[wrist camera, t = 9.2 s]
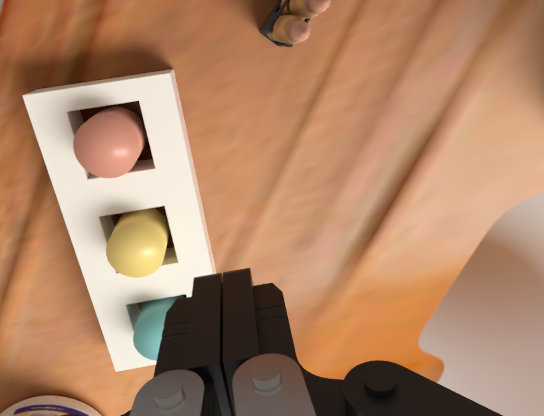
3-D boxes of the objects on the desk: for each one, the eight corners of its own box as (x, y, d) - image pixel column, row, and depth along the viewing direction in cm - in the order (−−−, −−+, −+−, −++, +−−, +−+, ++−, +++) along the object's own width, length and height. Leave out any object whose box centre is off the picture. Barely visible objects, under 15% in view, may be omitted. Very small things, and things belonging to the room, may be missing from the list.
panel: (173, 68, 35) (169, 73, 32) (228, 329, 44) (228, 350, 41) (37, 89, 34) (22, 95, 31) (122, 349, 43) (115, 371, 40)
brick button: (139, 102, 34) (129, 112, 30) (152, 156, 36) (144, 173, 32) (81, 111, 34) (64, 122, 30) (97, 165, 36) (83, 182, 32)
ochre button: (163, 201, 37) (157, 222, 33) (174, 247, 39) (169, 272, 35) (111, 210, 37) (98, 232, 33) (124, 255, 39) (114, 282, 35)
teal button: (183, 285, 40) (180, 313, 37) (193, 325, 42) (191, 355, 38) (135, 294, 40) (127, 323, 36) (147, 333, 42) (140, 365, 38)
